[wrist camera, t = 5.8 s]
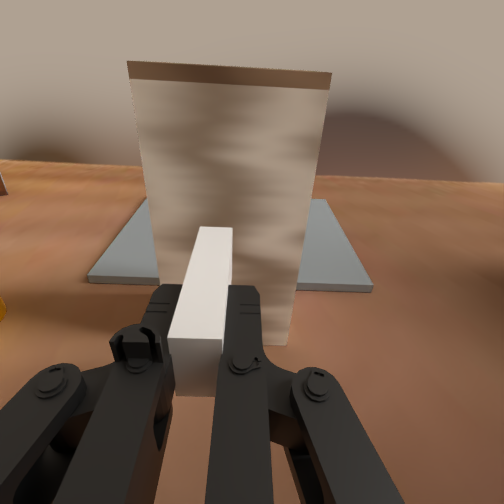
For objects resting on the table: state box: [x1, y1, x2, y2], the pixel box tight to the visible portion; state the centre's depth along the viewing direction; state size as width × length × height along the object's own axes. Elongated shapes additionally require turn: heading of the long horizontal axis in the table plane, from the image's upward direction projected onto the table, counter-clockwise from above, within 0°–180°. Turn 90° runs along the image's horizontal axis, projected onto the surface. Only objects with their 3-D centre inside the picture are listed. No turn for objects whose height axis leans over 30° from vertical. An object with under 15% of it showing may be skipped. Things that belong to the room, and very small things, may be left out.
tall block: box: [127, 61, 332, 346], centre depth 18 cm, size 8×5×16 cm, turn 90°
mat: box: [87, 198, 373, 292], centre depth 33 cm, size 24×19×1 cm
